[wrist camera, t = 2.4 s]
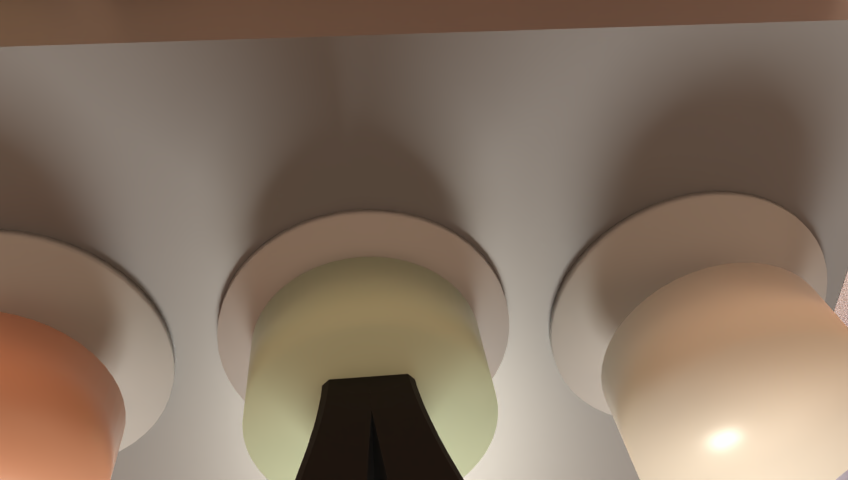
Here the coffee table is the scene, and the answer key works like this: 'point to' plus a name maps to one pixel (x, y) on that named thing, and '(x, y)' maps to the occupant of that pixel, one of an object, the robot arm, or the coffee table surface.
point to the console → (406, 186)
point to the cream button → (731, 379)
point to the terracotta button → (55, 406)
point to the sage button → (365, 356)
